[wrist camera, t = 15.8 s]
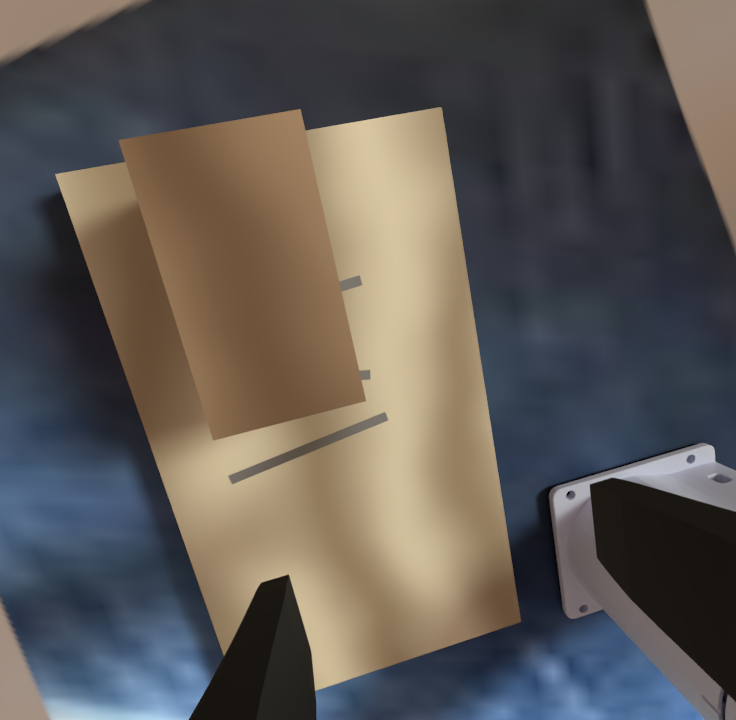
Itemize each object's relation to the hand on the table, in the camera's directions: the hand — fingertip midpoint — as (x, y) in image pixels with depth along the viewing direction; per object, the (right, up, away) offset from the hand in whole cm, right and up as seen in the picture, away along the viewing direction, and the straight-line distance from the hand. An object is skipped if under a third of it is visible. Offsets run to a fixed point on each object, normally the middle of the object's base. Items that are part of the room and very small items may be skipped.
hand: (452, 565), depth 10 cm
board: (-4, +2, +10) cm, 11 cm away
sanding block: (-6, +8, +7) cm, 12 cm away
